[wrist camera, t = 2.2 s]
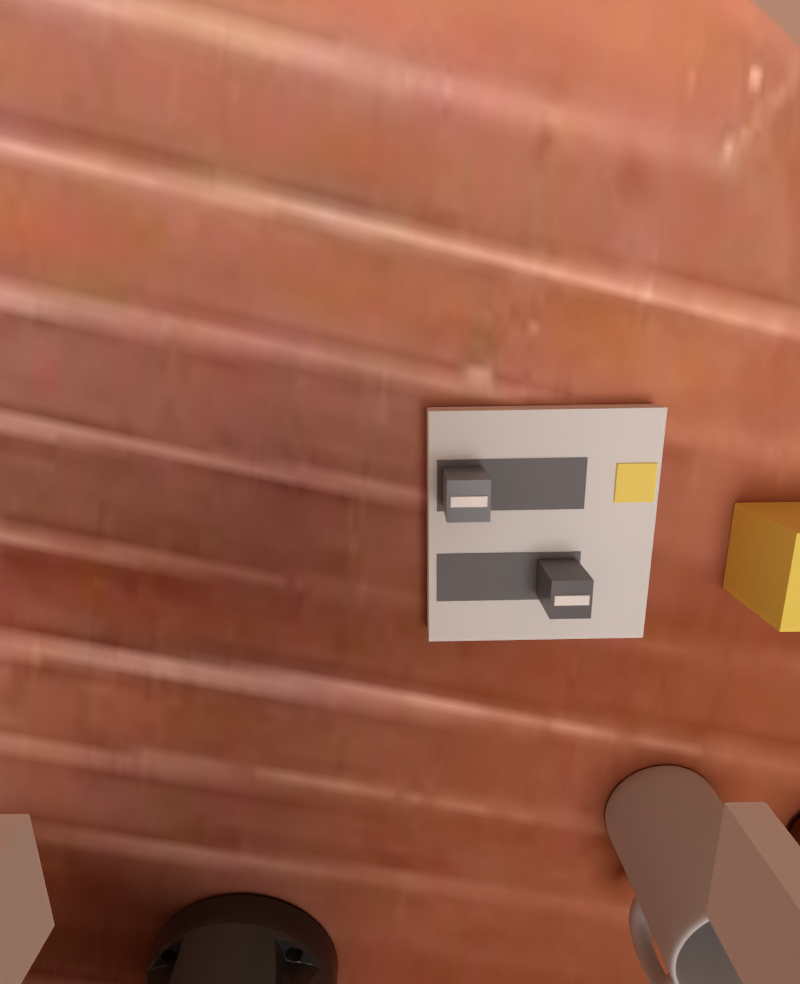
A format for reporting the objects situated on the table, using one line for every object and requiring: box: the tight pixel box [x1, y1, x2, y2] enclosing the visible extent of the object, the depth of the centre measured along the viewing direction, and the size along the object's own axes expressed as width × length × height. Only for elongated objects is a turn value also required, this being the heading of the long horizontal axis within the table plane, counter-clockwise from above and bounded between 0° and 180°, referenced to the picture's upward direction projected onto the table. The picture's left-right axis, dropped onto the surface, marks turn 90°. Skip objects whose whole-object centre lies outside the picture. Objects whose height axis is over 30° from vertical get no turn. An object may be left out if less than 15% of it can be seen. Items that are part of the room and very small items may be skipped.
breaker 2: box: [536, 559, 594, 619], centre depth 35 cm, size 2×2×3 cm
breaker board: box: [427, 404, 667, 641], centre depth 37 cm, size 14×15×2 cm
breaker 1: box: [442, 467, 491, 523], centre depth 33 cm, size 2×2×3 cm
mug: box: [605, 765, 743, 984], centre depth 39 cm, size 12×8×11 cm
